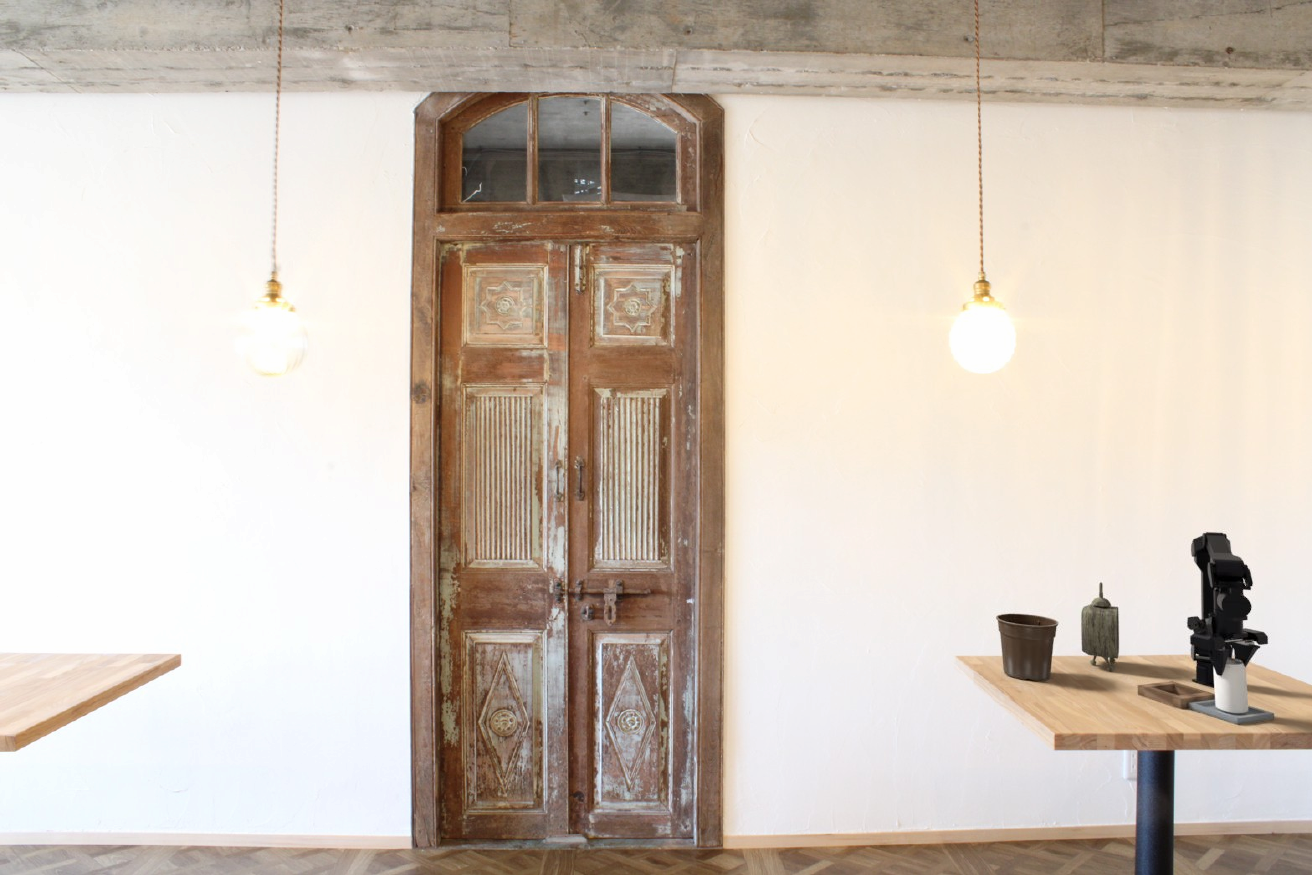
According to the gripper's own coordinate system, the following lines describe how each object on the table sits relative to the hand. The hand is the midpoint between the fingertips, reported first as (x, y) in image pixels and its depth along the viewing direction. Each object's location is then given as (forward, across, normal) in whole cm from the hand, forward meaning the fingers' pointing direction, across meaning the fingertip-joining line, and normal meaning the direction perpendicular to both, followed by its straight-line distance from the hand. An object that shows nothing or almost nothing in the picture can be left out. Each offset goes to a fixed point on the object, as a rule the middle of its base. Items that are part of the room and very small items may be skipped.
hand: (1229, 673), depth 189 cm
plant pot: (+10, +22, -42) cm, 48 cm away
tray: (+10, 0, 0) cm, 10 cm away
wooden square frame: (+10, +2, -12) cm, 16 cm away
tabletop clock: (+10, -6, -43) cm, 44 cm away
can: (+9, 0, 0) cm, 9 cm away
